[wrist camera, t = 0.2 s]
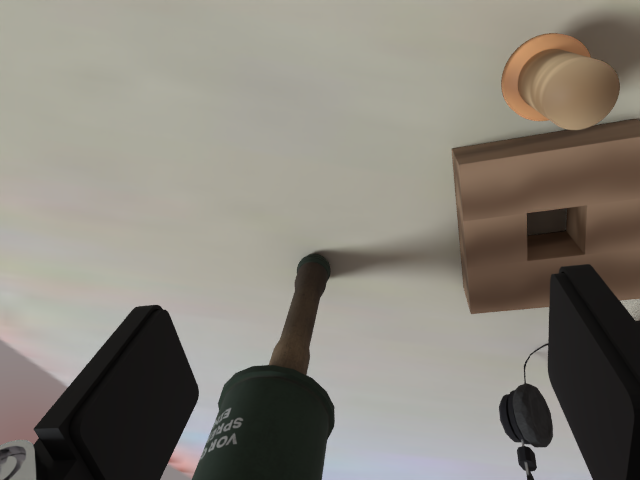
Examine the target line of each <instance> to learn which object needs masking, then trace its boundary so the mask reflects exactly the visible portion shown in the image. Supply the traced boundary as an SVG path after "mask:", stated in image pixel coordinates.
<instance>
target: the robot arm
mask: <svg viewBox="0 0 640 480" xmlns="http://www.w3.org/2000/svg"><path fill="white" fill-rule="evenodd" d="M548 374H549V378H550V382H551V385H552V387H553V389H554V392H555V394H556V396H557V398H558V401H559V403H560V405H561V408H562V410H563V412H564V414H565V417H566V419H567V421H568V424H569V426H570V428H571V430H572V433H573V435H574V437H575V440H576V442H577V444H578V446H579V449H580V451H581V453H582V456H583V458H584V460H585V462H586V465H587V467H588V469H589V471H590V474H591V476H592V478H593V480H640V321H635V320H634V318H633V317H632V316H631V315H630V313H629V312H628V311H627V310H626V308H625V307H624V306H623V305H622V303H621V302H620V301H619V300H618V298H617V297H616V296H615V295H614V293H613V292H612V291H611V290H610V288H609V287H608V286H607V284H606V283H605V282H604V281H603V279H602V278H601V277H600V276H599V274H598V273H597V272H596V271H595V269H594V268H593V267H592V266H591V265H590V264H584V265H573V266H563V267H561V268H560V269H559V273H558V274H552V275H551V277H550V306H549V343H548ZM198 396H199V389H198V385H197V383H196V380H195V378H194V375H193V373H192V370H191V368H190V365H189V363H188V360H187V358H186V355H185V353H184V350H183V348H182V345H181V343H180V340H179V338H178V335H177V333H176V330H175V327H174V325H173V322H172V320H171V317H170V315H169V313H168V312H167V311H166V310H163V309H162V308H161V307H160V306H159V305H150V306H139V307H135V308H134V309H133V310H132V311H131V313H130V314H129V315H128V316H127V317H126V319H125V320H124V321H123V322H122V323H121V325H120V326H119V327H118V328H117V329H116V331H115V332H114V333H113V334H112V335H111V337H110V338H109V339H108V340H107V341H106V343H105V344H104V345H103V346H102V347H101V349H100V350H99V351H98V352H97V353H96V355H95V356H94V357H93V358H92V359H91V361H90V362H89V363H88V364H87V365H86V367H85V368H84V369H83V370H82V371H81V373H80V374H79V375H78V376H77V377H76V379H75V380H74V381H73V382H72V383H71V385H70V386H69V387H68V388H67V389H66V391H65V392H64V393H63V394H62V395H61V397H60V398H59V399H58V400H57V401H56V403H55V404H54V405H53V406H52V407H51V409H50V410H49V411H48V412H47V413H46V415H45V416H44V417H43V418H42V419H41V421H40V422H39V423H38V424H37V426H36V427H35V428H34V431H35V432H36V434H37V435H38V437H39V439H38V440H37V441H36V443H35V444H34V445H33V444H32V443H31V442H29V441H27V440H16V441H11V442H7V443H5V444H3V445H0V480H160V478H161V476H162V474H163V472H164V470H165V468H166V466H167V464H168V462H169V459H170V457H171V455H172V453H173V451H174V449H175V447H176V445H177V443H178V441H179V439H180V436H181V434H182V432H183V430H184V428H185V426H186V424H187V422H188V420H189V418H190V415H191V413H192V411H193V409H194V407H195V405H196V403H197V400H198Z"/></svg>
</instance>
